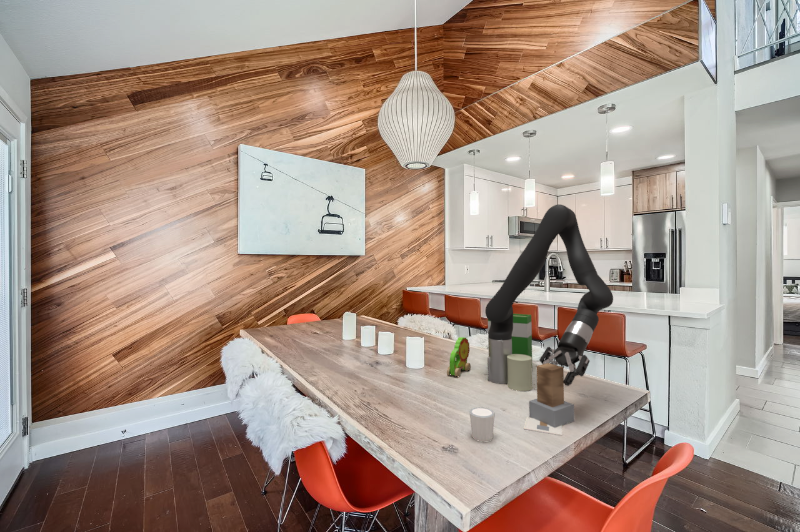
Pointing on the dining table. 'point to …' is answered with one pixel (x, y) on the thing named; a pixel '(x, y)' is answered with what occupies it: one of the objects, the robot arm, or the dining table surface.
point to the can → (519, 372)
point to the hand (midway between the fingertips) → (553, 380)
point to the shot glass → (482, 423)
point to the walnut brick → (550, 384)
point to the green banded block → (520, 334)
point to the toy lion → (459, 357)
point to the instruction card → (541, 427)
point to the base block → (552, 413)
